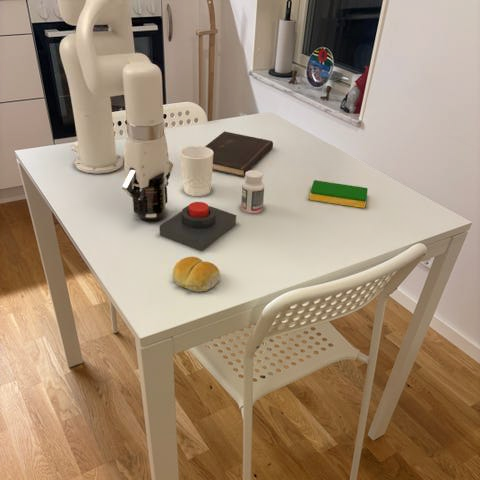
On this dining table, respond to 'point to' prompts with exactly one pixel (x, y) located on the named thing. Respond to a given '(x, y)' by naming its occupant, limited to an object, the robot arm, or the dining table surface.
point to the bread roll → (195, 274)
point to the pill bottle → (252, 192)
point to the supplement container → (154, 199)
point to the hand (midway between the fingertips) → (151, 207)
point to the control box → (197, 227)
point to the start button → (198, 209)
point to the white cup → (197, 170)
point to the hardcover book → (237, 152)
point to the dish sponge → (339, 194)
